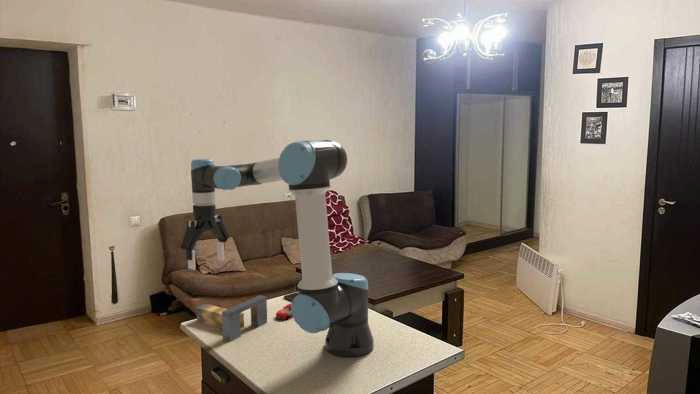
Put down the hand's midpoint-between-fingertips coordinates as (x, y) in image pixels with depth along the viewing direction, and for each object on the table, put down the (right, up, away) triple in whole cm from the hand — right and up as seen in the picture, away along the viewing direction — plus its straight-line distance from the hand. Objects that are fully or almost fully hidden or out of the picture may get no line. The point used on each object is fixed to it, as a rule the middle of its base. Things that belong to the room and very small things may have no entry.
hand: (206, 264), depth 181 cm
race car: (+28, -20, +9) cm, 36 cm away
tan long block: (+5, -21, 0) cm, 21 cm away
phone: (+31, -18, +24) cm, 43 cm away
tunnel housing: (+15, -22, -6) cm, 27 cm away
